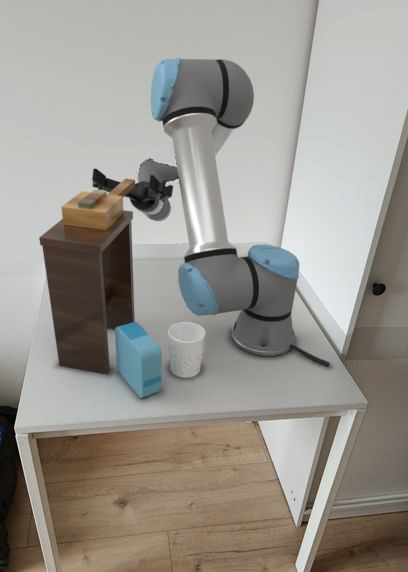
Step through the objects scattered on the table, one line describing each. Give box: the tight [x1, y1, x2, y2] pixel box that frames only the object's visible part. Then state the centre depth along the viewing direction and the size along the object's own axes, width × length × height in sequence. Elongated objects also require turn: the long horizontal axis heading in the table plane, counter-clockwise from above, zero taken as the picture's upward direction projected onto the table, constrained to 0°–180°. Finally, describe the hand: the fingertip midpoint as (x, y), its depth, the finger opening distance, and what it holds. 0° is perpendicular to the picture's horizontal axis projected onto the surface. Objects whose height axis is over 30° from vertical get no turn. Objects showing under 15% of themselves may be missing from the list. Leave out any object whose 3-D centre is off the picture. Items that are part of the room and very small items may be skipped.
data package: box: [114, 321, 162, 399], centre depth 104 cm, size 12×4×12 cm, turn 34°
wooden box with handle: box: [60, 178, 136, 230], centre depth 108 cm, size 28×9×5 cm, turn 168°
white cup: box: [167, 321, 206, 379], centre depth 109 cm, size 8×8×10 cm
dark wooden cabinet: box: [38, 209, 136, 375], centre depth 109 cm, size 19×12×30 cm, turn 168°
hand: (122, 177), depth 114 cm, fingers open, 13 cm apart
